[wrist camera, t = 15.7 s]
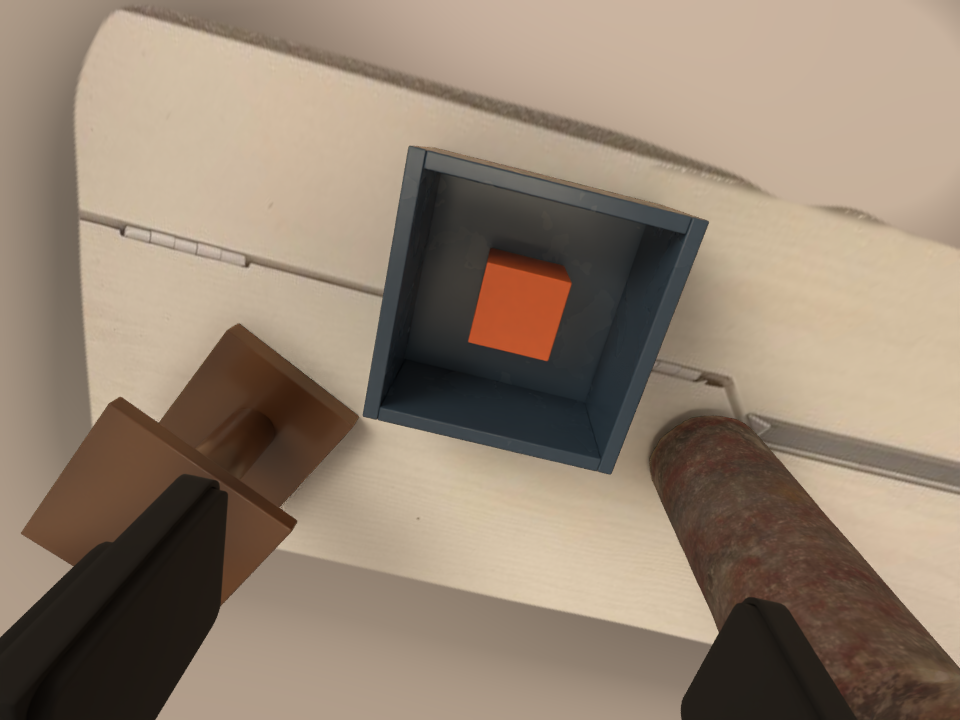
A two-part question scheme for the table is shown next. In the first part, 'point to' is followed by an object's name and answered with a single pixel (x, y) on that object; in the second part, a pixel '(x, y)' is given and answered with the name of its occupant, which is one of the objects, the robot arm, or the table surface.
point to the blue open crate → (583, 327)
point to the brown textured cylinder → (796, 569)
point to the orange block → (520, 304)
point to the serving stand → (201, 456)
